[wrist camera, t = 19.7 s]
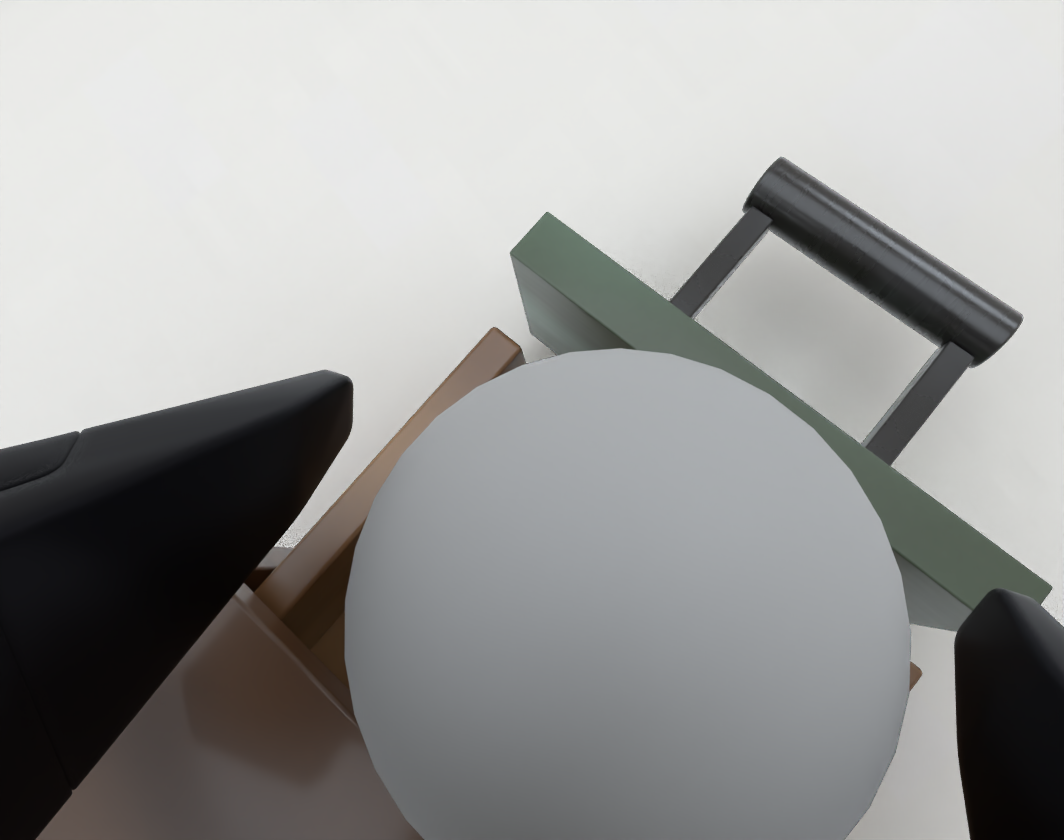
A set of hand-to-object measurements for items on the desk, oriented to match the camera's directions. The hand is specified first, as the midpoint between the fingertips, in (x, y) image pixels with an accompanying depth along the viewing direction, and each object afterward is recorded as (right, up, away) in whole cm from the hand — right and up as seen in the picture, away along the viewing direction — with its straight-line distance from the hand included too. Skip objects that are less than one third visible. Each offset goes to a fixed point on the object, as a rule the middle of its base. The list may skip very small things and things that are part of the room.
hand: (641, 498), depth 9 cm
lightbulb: (0, -3, +6) cm, 7 cm away
